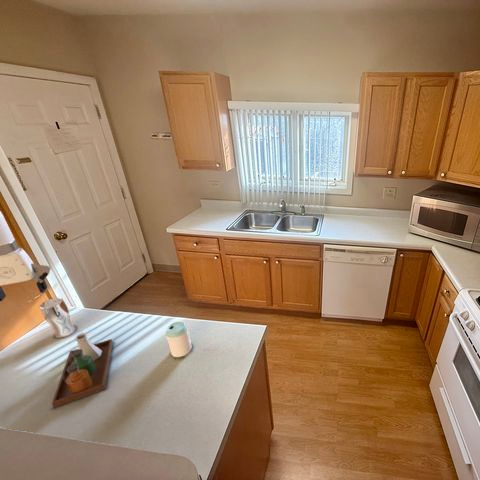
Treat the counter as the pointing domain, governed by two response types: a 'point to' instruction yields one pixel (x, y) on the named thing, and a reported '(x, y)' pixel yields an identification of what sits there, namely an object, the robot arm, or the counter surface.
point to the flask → (88, 346)
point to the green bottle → (84, 361)
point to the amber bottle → (78, 379)
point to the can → (178, 339)
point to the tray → (98, 377)
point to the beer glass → (57, 316)
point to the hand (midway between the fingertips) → (23, 294)
